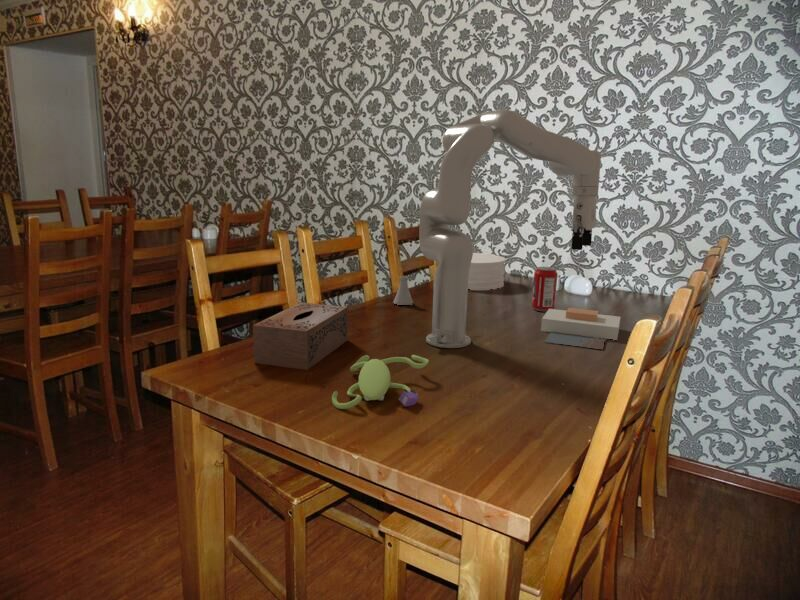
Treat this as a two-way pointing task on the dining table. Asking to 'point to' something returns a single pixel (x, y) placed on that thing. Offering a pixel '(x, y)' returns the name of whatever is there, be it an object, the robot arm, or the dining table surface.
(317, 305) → the tissue box cover
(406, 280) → the flask
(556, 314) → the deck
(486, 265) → the plate stack
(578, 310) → the tile
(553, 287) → the soda can
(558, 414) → the dining table surface
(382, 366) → the figurine
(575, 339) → the mat
